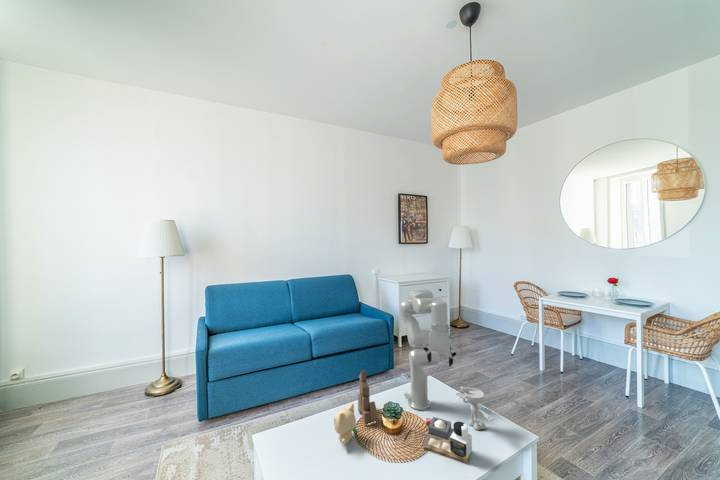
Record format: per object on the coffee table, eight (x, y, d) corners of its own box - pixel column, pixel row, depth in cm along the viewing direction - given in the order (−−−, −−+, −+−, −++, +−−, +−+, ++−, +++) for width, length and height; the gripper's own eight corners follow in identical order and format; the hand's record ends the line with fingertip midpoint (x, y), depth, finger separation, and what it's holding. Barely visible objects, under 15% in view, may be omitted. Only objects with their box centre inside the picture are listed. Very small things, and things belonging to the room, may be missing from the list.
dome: (433, 432, 137) (433, 422, 137) (436, 426, 142) (435, 415, 142) (444, 436, 134) (444, 425, 134) (446, 429, 139) (446, 419, 139)
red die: (426, 426, 142) (426, 421, 142) (426, 423, 144) (426, 417, 144) (432, 427, 141) (431, 421, 141) (432, 424, 144) (431, 418, 144)
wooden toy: (377, 423, 145) (376, 375, 145) (364, 426, 143) (364, 377, 143) (368, 407, 160) (368, 363, 160) (357, 409, 158) (356, 364, 158)
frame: (400, 442, 131) (400, 441, 131) (408, 428, 140) (408, 428, 140) (423, 450, 125) (423, 449, 125) (430, 435, 135) (430, 435, 135)
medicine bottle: (450, 452, 122) (449, 425, 122) (456, 443, 128) (455, 417, 128) (466, 460, 118) (466, 432, 118) (472, 451, 123) (471, 423, 123)
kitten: (347, 426, 143) (346, 396, 143) (363, 433, 137) (362, 403, 138) (327, 443, 131) (327, 411, 131) (344, 452, 125) (343, 418, 125)
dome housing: (428, 434, 136) (428, 426, 136) (433, 423, 144) (433, 416, 144) (447, 440, 132) (447, 432, 132) (451, 428, 140) (451, 421, 140)
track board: (425, 449, 126) (425, 446, 126) (430, 437, 134) (430, 434, 134) (467, 464, 117) (467, 461, 117) (470, 450, 125) (470, 447, 125)
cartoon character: (501, 440, 131) (500, 399, 131) (482, 446, 127) (481, 403, 127) (465, 410, 155) (465, 375, 155) (448, 415, 151) (447, 378, 151)
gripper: (459, 327, 132) (460, 364, 131) (423, 323, 140) (424, 357, 140) (456, 332, 125) (457, 370, 125) (419, 327, 133) (420, 363, 133)
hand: (440, 363), depth 132 cm, fingers open, 9 cm apart
